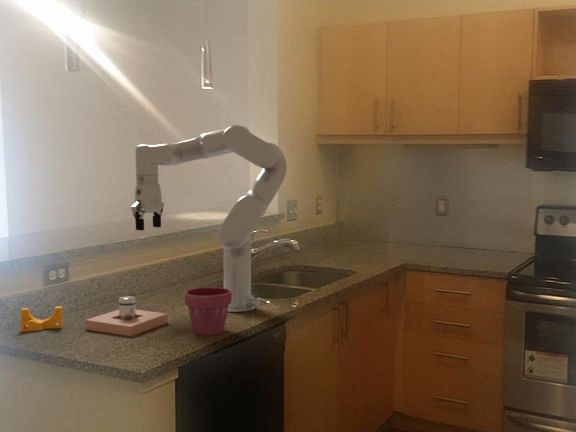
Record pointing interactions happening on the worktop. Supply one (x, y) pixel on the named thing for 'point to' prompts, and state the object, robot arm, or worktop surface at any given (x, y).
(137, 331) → the pink square holed slab
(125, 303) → the piston
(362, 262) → the worktop surface
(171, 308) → the worktop surface
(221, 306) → the plant pot
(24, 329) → the pipe clamp
